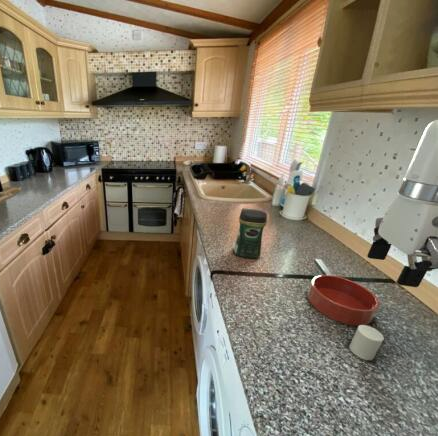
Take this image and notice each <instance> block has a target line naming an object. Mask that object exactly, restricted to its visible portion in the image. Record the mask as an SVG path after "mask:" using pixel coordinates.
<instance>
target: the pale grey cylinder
mask: <svg viewBox="0 0 438 436" xmlns="http://www.w3.org/2000/svg"><path fill="white" fill-rule="evenodd" d="M384 339H385V337H384V335H383V334H382V333H381V332H380V331H379V330H378V329H376V328H374V327H372V326H370V325H360V326H357V329H356V331H355V332H354V335H353V336H352V339H351V341H350V344H349V350H350V352H351V353H353V354H354V355H355V356H356V357H358V358H359V359H362V360H363V361H364V360H365V361H373V360H374V359H375V356H376V355H377V353H378V351H379V349H380V348H381V346H382V345H383V342H384Z"/></svg>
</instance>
